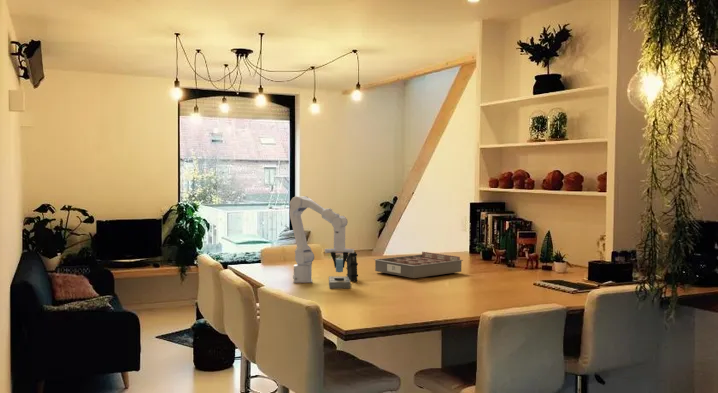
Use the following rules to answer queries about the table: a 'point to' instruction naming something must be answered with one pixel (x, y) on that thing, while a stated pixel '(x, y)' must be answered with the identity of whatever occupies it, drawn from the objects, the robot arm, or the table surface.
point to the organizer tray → (419, 265)
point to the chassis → (339, 282)
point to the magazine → (352, 266)
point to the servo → (339, 264)
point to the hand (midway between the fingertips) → (339, 267)
